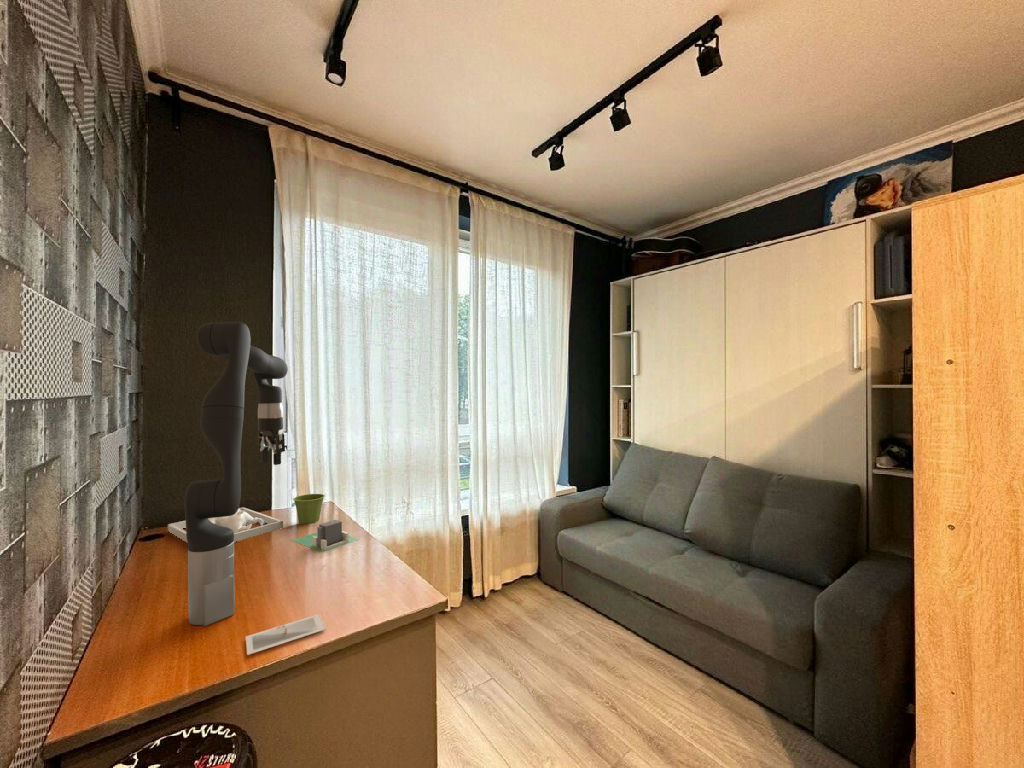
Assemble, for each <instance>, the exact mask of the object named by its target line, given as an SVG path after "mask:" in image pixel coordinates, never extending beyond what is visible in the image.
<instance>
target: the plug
mask: <svg viewBox="0 0 1024 768" xmlns="http://www.w3.org/2000/svg"><path fill="white" fill-rule="evenodd" d="M318 524H319V523H318ZM342 526H343V525H342V521H341V520H337V519H334V520H333V519H332V520H330V521H326V522H322V523H320V524H319V525H318V527H317V528H316V530H317V531H316V532H317V534H318V545H319V546H321V540H322V539H324V540H327V546H330V545H333V544H335V543H338V542H341V541H342V531H343V529H342V528H343V527H342Z"/></svg>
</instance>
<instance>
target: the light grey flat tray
mask: <svg viewBox="0 0 1024 768" xmlns="http://www.w3.org/2000/svg"><path fill="white" fill-rule="evenodd" d="M239 509H240V510H241V511H244V512H246V513H248V514H249V515H250V516H251V517H253V518H255V517H257V518H261V519H262V520H264V524H263V525H262V526H261V525H260V526H256V527H253V528H252V527H251V528H250V529H248V530H245V531H241V532H237V533H234V543H237V542H240V541H243V539H244V540H247V539H250V538H249V537H251V538H254V537H257V535H258V536H260V534H261V535H264V534H263V533H265V534H268V533H272V532H275V531H278V530H277V529H279V530H281V529H280V528H282V529H284V520H282V519H278V518H276V517H273V516H269V515H267V514H264V513H260V512H259V511H255V510H252V509H249V508H246V507H243V506H242V507H239ZM208 519H209V518H208ZM265 523H267V524H265ZM183 528H186V520H183V521H178V522H174V523H173V522H171V523H169V524H167V532H168V531H169V532H170V533H172V534H174V535H175V536H174V535H173V536H174V537H176V536H177V537H176V538H177V539H179V538H180V540H181V539H182V540H181V541H183V542H185V541H186V542H185V543H187V537H186V530H185V529H183ZM274 530H275V531H274ZM271 531H272V532H271ZM267 532H268V533H267ZM170 533H169V534H170ZM172 534H171V535H172ZM253 536H254V537H253ZM246 538H247V539H246ZM236 541H237V542H236Z"/></svg>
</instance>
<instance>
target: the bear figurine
mask: <svg viewBox="0 0 1024 768" xmlns="http://www.w3.org/2000/svg"><path fill="white" fill-rule="evenodd" d="M208 520H209V521H210V522H212V523H214V524H216V525H219V526H223V527H227V528H230V529H232V530H233V532H234V533H237V532H241V531H245V530H248V529H252V526H253V525H256V524H257V523H259V525H260V526H263V525H265V523H264V520H262V519H261V518H257V517H255V518H253V517H251V516H250V515H249V514H248V513H246V512H244V511H241V510H240V509H238V511H237V512H236V514H234V515H232V516H226V517H216V518H209V519H208ZM246 525H247V526H246Z"/></svg>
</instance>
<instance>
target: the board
mask: <svg viewBox="0 0 1024 768" xmlns="http://www.w3.org/2000/svg"><path fill="white" fill-rule="evenodd" d="M349 534H350V533H349V532H346V531H344V530H342V541H341V542H338V543H335V544H333V545H330V546H327V540H324V539H322V540H321V546H319V545H318V534H317V531H316V532H313V533H310V534H308V535H304V536H301V537H297V538H295V539H291V542H295V543H297V544H299V545H303V546H305V547H308V548H310V549H312V550H314V551H317V552H320V553H322V554H323V553H325V552H328V551H331V550H333V549H337V548H339V547H342V546H345V545H347V544H350V543H353V542H355V541H358V540H360V538H358V537H354V536H351V535H349Z"/></svg>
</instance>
